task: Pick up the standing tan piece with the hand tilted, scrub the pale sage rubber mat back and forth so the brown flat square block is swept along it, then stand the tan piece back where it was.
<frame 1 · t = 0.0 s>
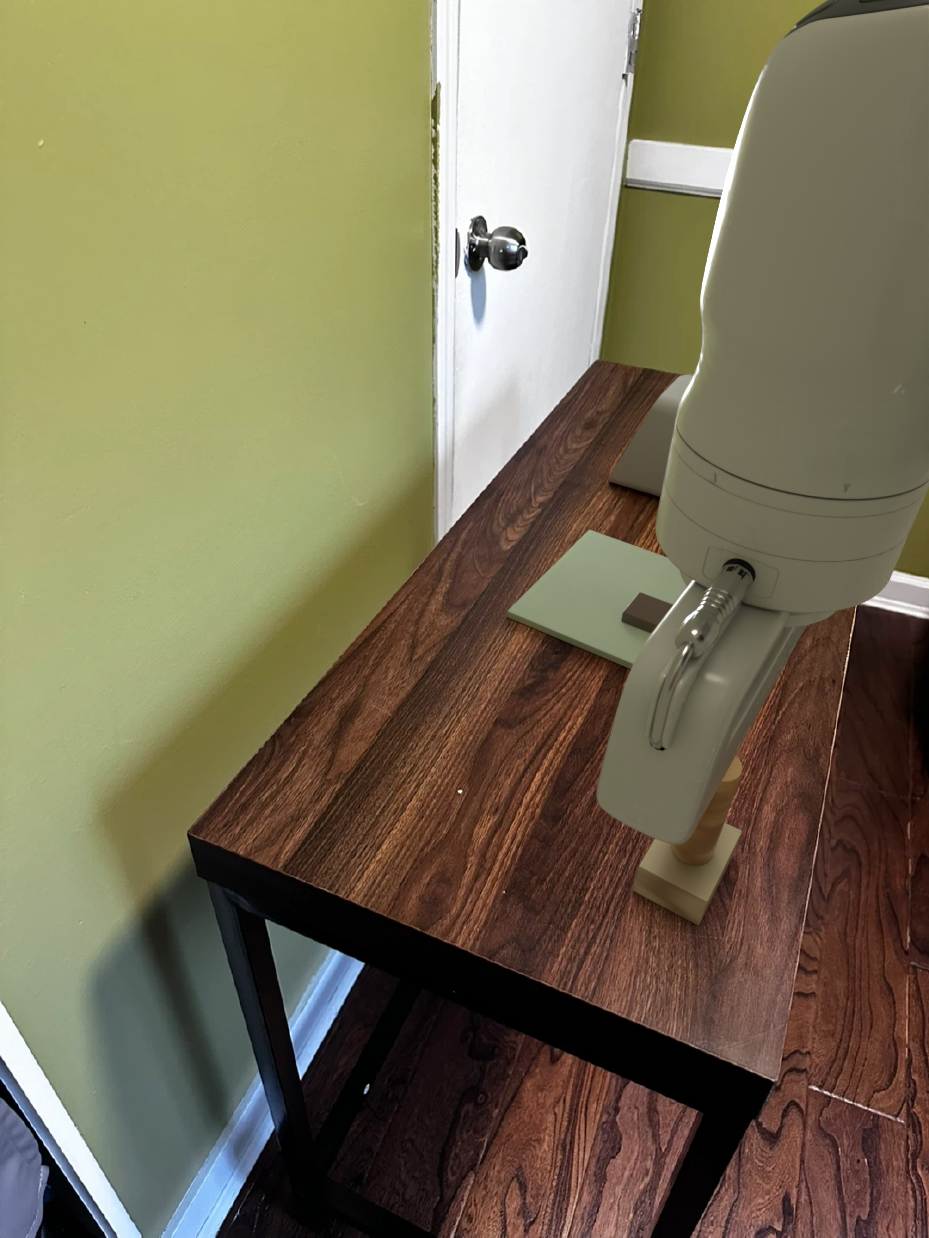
hand: (705, 755, 41), 23 cm above the table, tool pointing down, fingers open, 8 cm apart
brown flat square block: (647, 618, 84), point 1 cm above the table, touching mat
tan piece: (683, 872, 63), on the table
grey angular piece: (699, 462, 111), on the table
mat: (636, 607, 87), on the table
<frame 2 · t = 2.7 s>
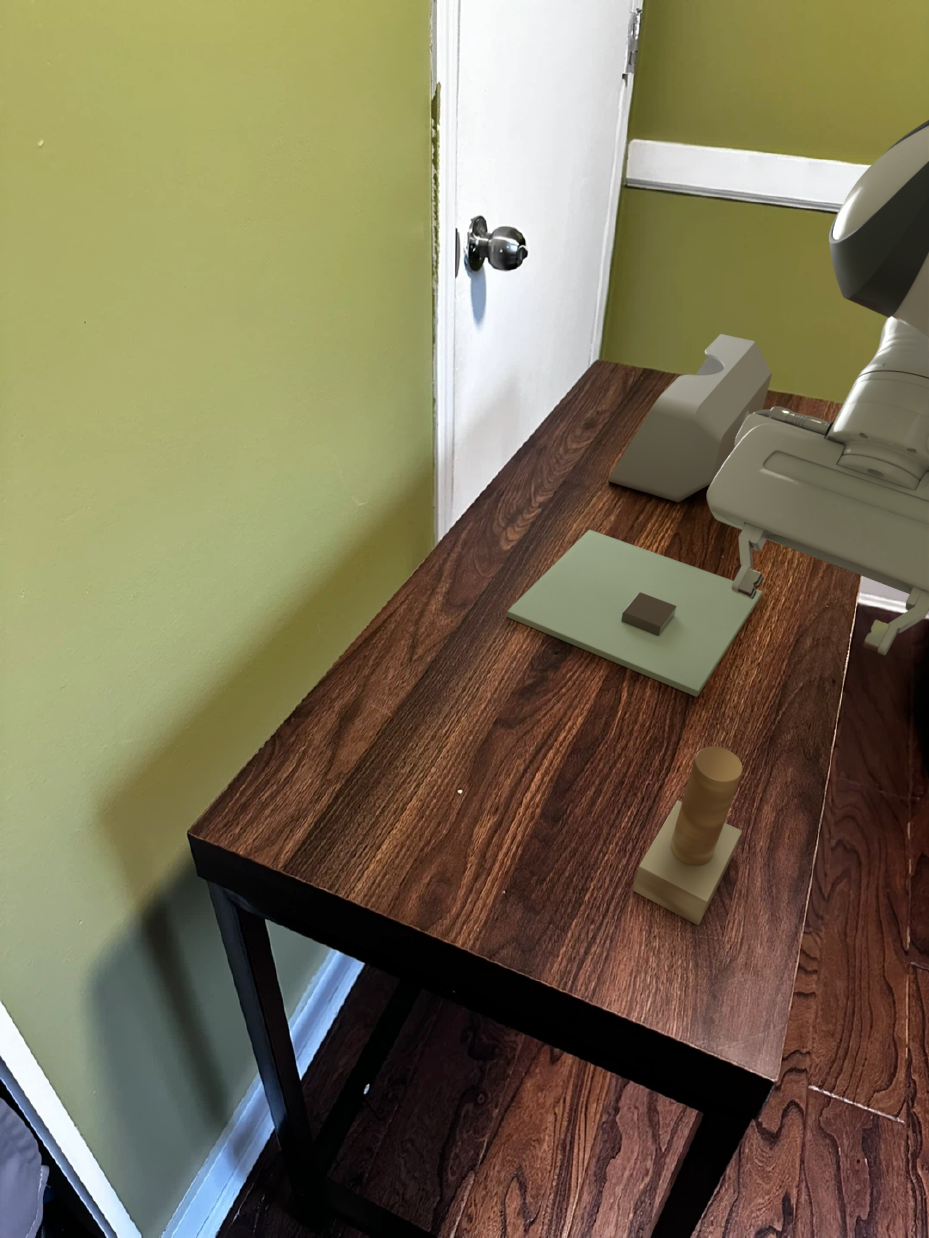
hand: (805, 621, 59), 17 cm above the table, tool tilted 45°, fingers open, 8 cm apart
nothing on the table moved.
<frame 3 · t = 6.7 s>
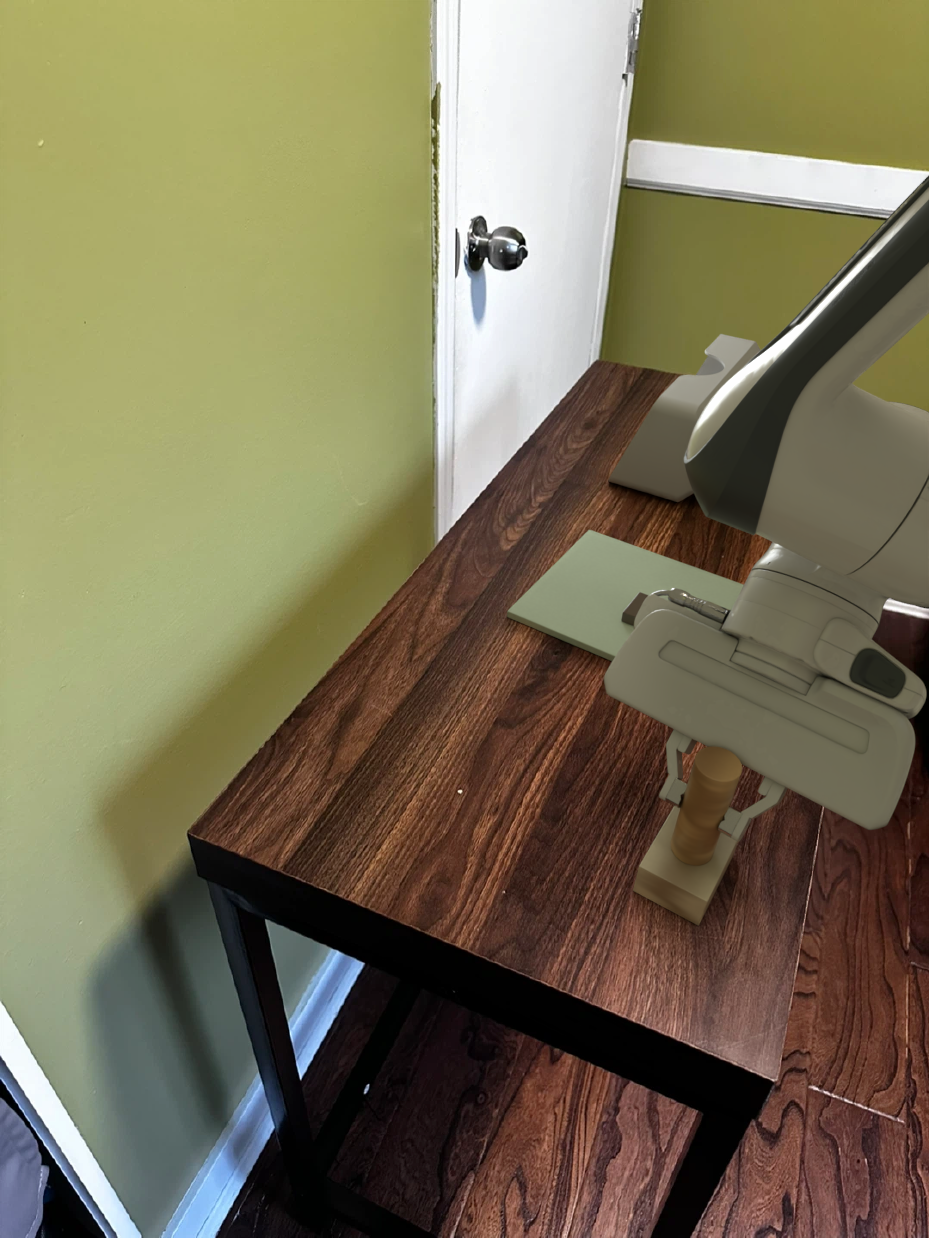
hand: (698, 819, 58), 7 cm above the table, tool tilted 45°, fingers closed on tan piece, 3 cm apart
tan piece: (683, 872, 63), on the table, touching gripper
everything else where it was.
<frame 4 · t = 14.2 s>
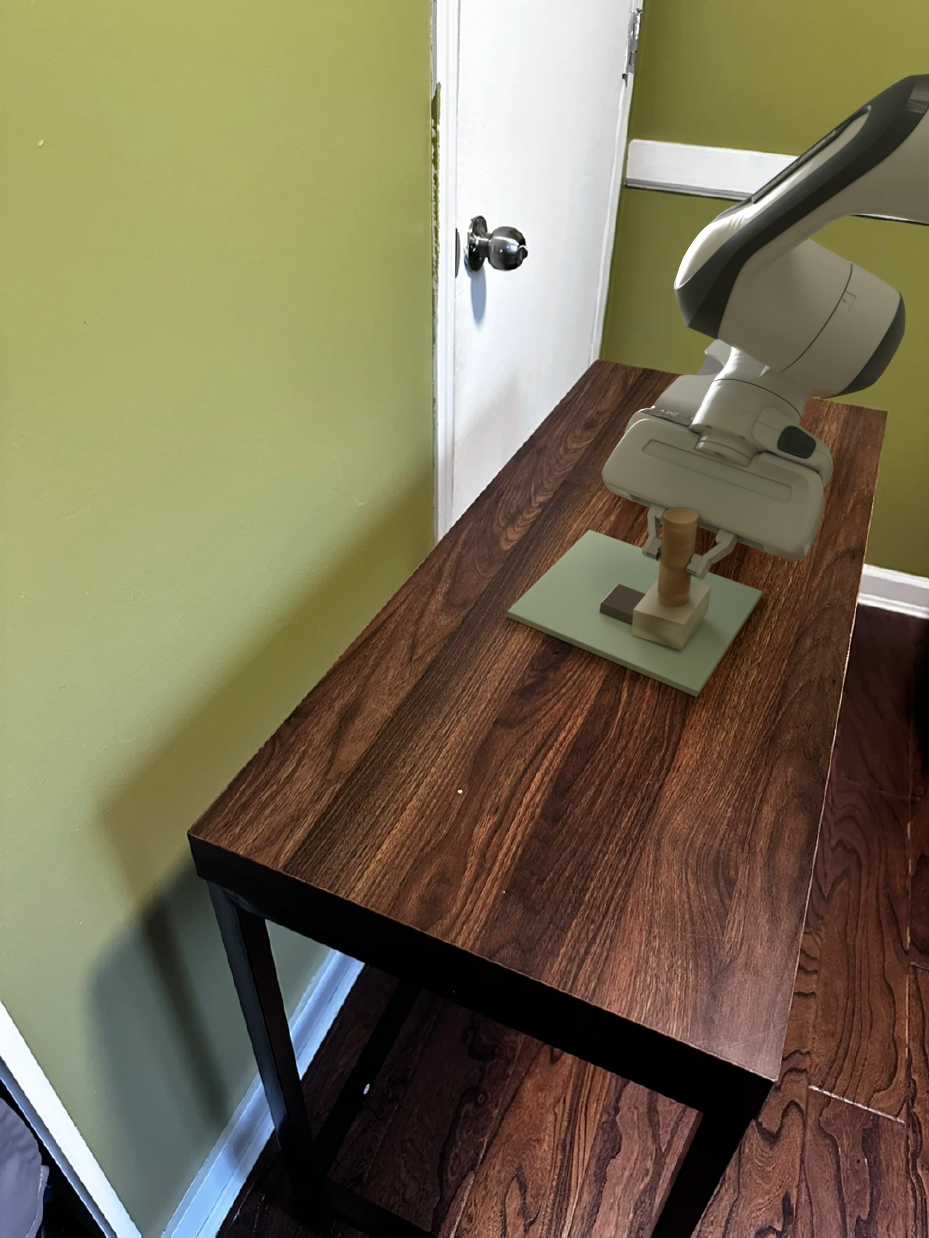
hand: (671, 566, 79), 8 cm above the table, tool tilted 45°, fingers closed on tan piece, 3 cm apart
brown flat square block: (625, 609, 85), point 1 cm above the table, touching mat
tan piece: (670, 623, 83), point 1 cm above the table, tilted 6°, touching gripper, mat
everything else where it was.
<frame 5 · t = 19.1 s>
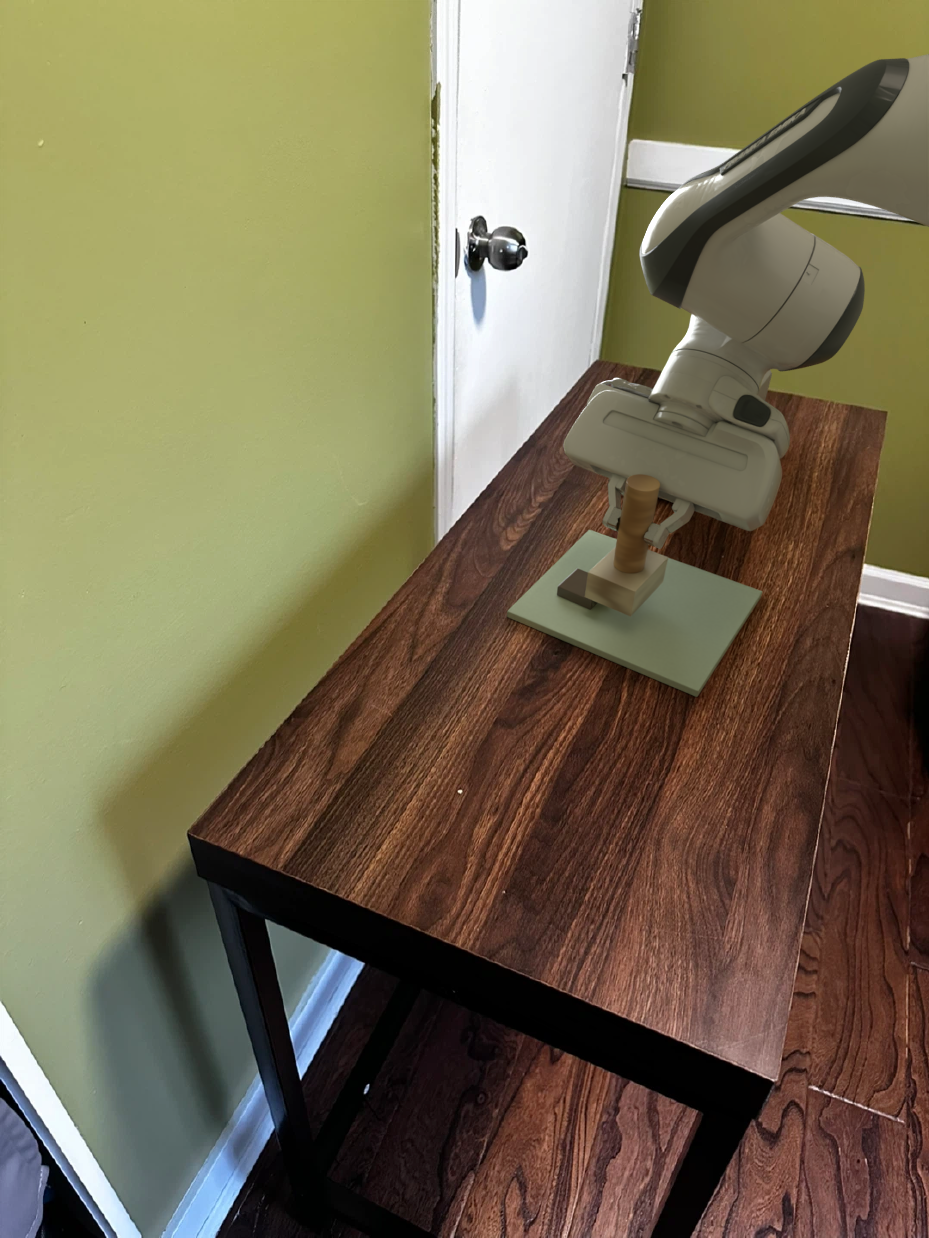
hand: (631, 536, 79), 10 cm above the table, tool tilted 45°, fingers closed on tan piece, 3 cm apart
brown flat square block: (583, 593, 87), point 1 cm above the table, touching mat
tan piece: (624, 589, 84), point 3 cm above the table, touching gripper
everything else where it was.
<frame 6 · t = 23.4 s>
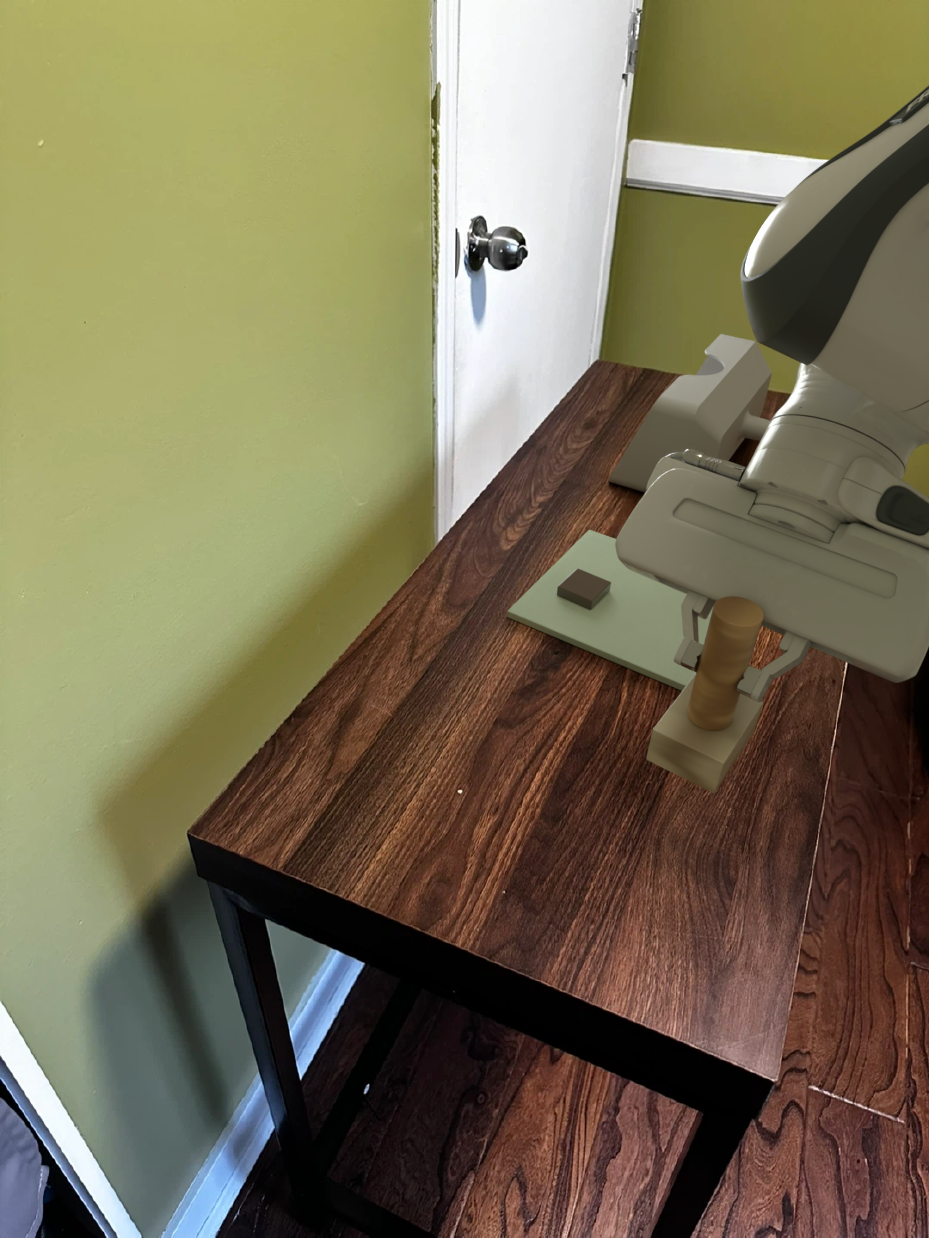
hand: (716, 682, 55), 16 cm above the table, tool tilted 45°, fingers closed on tan piece, 3 cm apart
tan piece: (700, 745, 60), point 9 cm above the table, touching gripper
everything else where it was.
when the fingers open (6 cm above the table, at t = 27.0 s): tan piece stays where it is, on the table.
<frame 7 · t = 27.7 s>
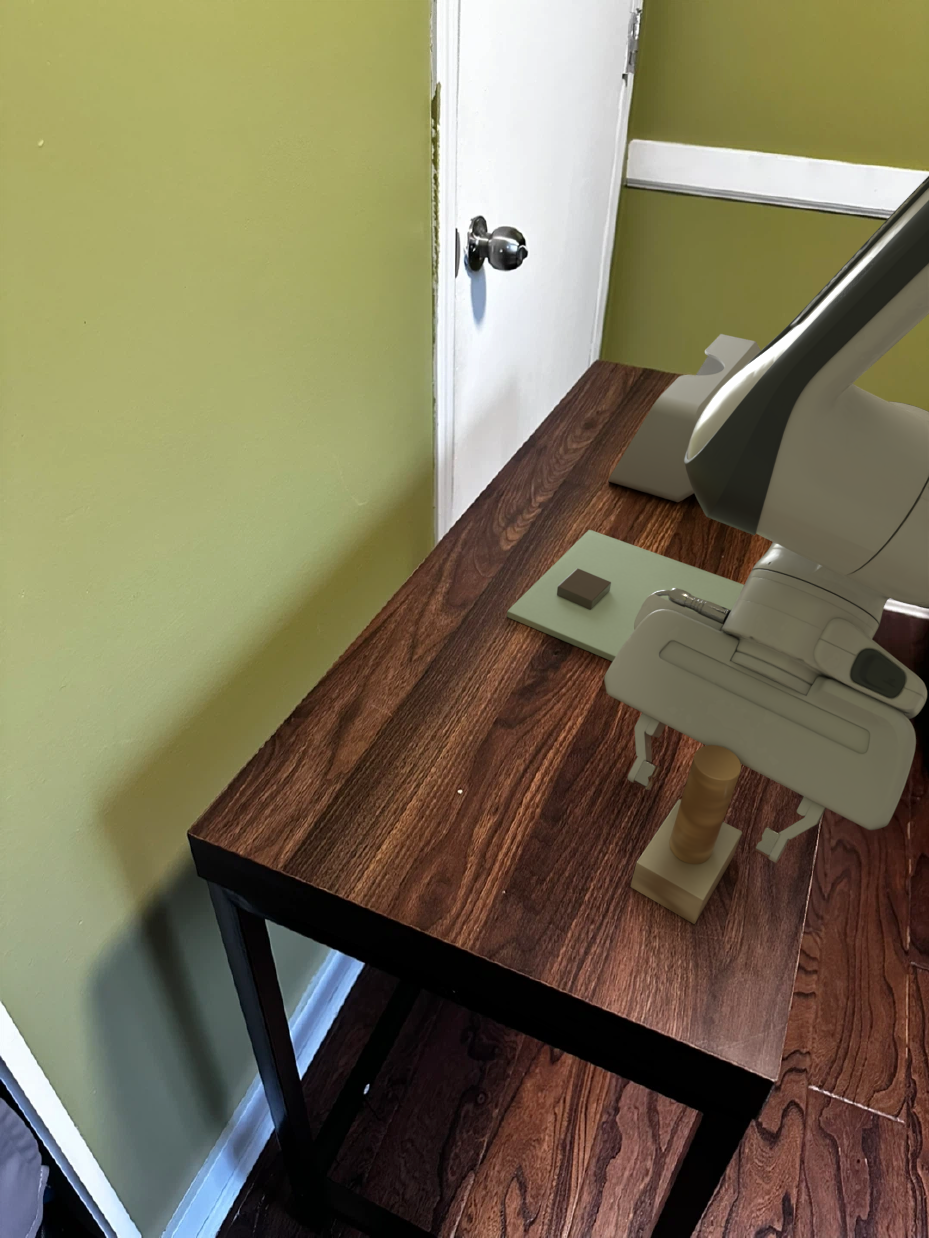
hand: (699, 819, 58), 7 cm above the table, tool tilted 45°, fingers open, 8 cm apart
tan piece: (682, 871, 63), on the table
everything else where it was.
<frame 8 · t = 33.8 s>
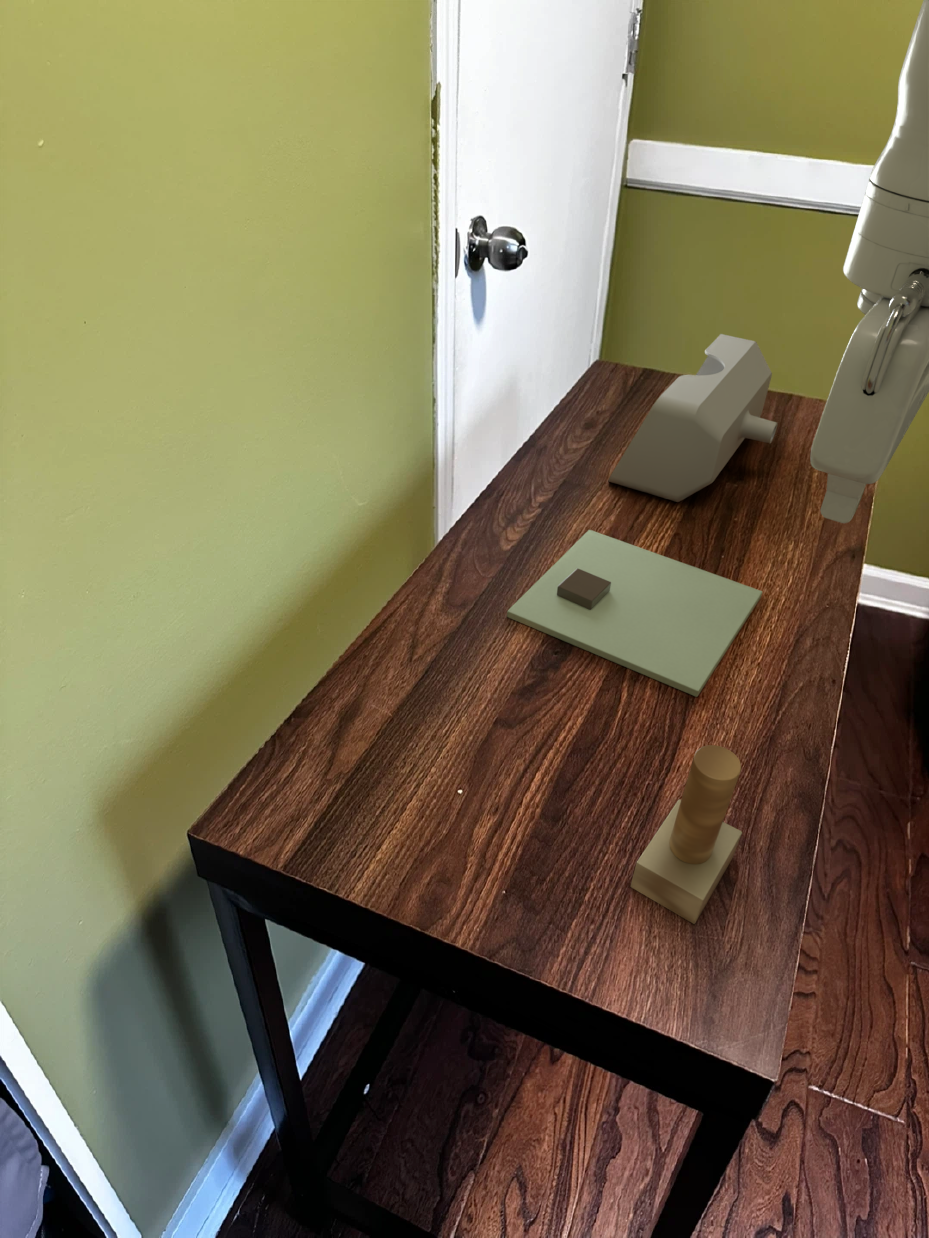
hand: (856, 482, 53), 27 cm above the table, tool pointing down, fingers open, 8 cm apart
nothing on the table moved.
at the end: brown flat square block moved 7.1 cm from its start; brown flat square block inside the target area on the mat (5.5 cm from its centre), point 0.8 cm above the mat's base; tan piece inside the target area (0.1 cm from its centre), on the table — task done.
